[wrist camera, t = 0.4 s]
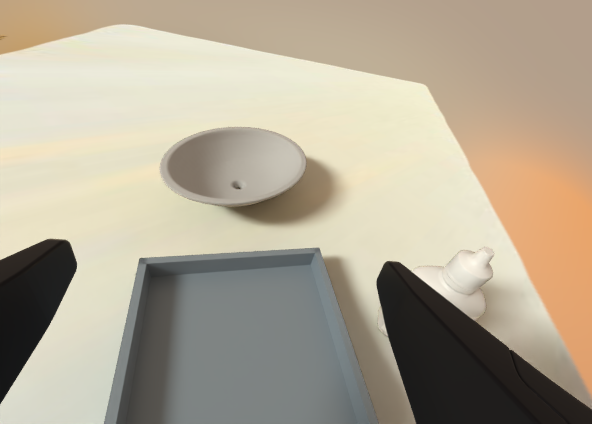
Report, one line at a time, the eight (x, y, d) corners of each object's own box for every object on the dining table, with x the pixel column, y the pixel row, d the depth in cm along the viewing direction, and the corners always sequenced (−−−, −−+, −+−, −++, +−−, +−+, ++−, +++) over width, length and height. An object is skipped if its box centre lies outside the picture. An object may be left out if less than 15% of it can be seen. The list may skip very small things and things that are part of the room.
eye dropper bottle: (420, 371, 23) (527, 302, 15) (367, 321, 26) (435, 238, 18) (440, 338, 26) (541, 263, 18) (391, 295, 28) (459, 212, 20)
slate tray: (386, 505, 17) (406, 506, 15) (82, 616, 13) (57, 636, 11) (312, 264, 29) (319, 247, 27) (145, 276, 25) (139, 258, 23)
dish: (210, 262, 27) (208, 228, 24) (142, 184, 33) (133, 148, 30) (322, 196, 38) (332, 166, 34) (255, 146, 44) (258, 117, 40)
